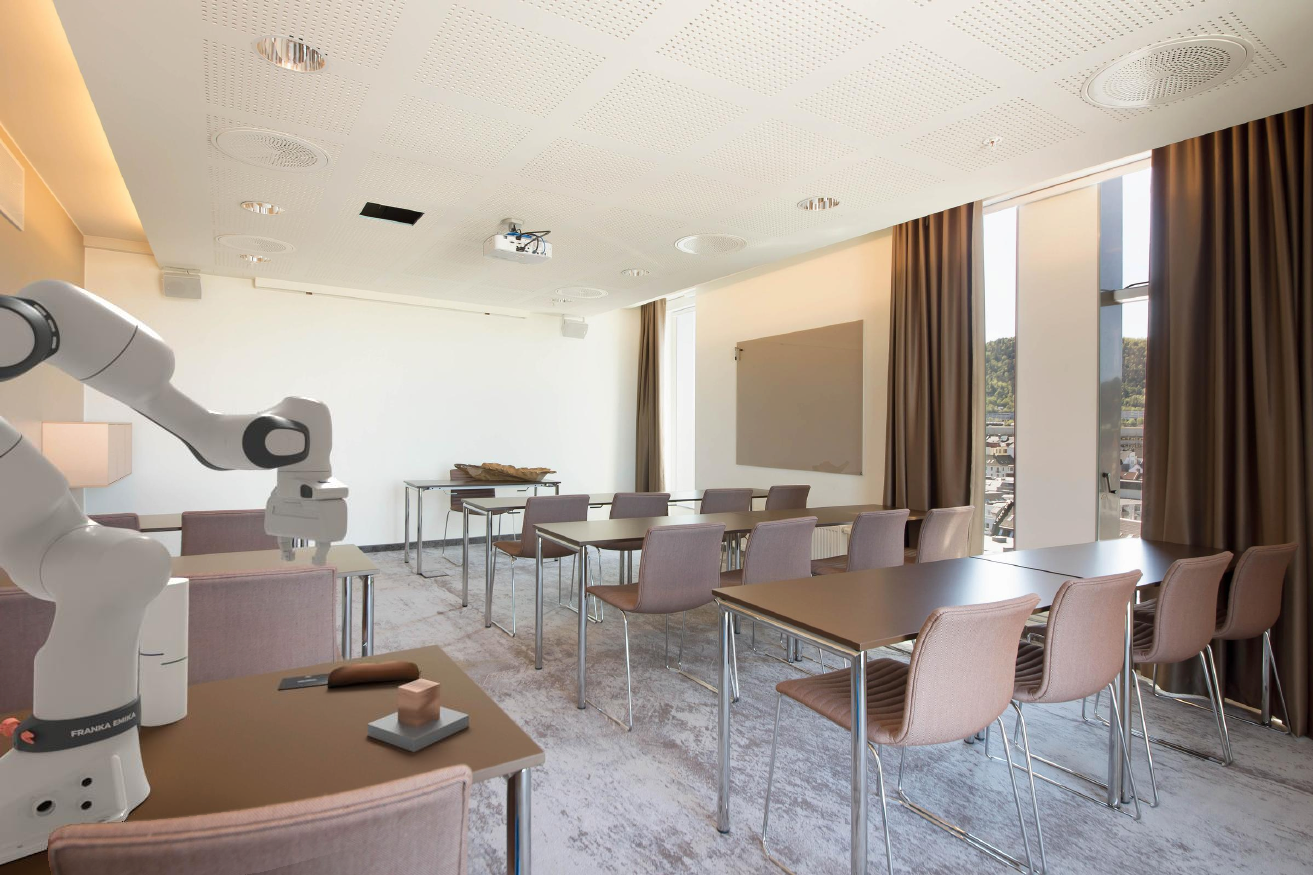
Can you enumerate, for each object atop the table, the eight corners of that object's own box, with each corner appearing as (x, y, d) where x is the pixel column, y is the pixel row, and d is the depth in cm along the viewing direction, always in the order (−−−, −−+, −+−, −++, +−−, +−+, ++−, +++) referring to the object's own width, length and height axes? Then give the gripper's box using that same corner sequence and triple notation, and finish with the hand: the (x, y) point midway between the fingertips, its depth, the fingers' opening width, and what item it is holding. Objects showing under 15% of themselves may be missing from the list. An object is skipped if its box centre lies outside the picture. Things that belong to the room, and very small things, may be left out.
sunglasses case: (422, 667, 151) (421, 646, 147) (420, 693, 145) (418, 672, 142) (335, 674, 146) (332, 652, 143) (329, 701, 140) (325, 679, 137)
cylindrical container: (146, 713, 125) (148, 579, 125) (191, 708, 128) (193, 576, 128) (132, 728, 119) (134, 586, 119) (180, 722, 121) (182, 584, 121)
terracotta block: (417, 727, 115) (417, 692, 115) (397, 721, 118) (398, 686, 118) (439, 717, 120) (440, 683, 120) (420, 711, 122) (421, 678, 122)
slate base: (414, 751, 111) (414, 739, 111) (367, 735, 117) (367, 723, 117) (468, 725, 121) (469, 714, 121) (423, 711, 127) (423, 701, 127)
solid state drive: (282, 681, 144) (282, 678, 144) (334, 675, 147) (334, 672, 147) (277, 692, 137) (277, 689, 137) (331, 686, 141) (331, 683, 141)
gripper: (255, 485, 125) (253, 560, 125) (321, 490, 114) (320, 571, 114) (288, 484, 130) (287, 555, 130) (354, 488, 120) (353, 566, 119)
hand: (303, 563), depth 122 cm, fingers open, 8 cm apart
